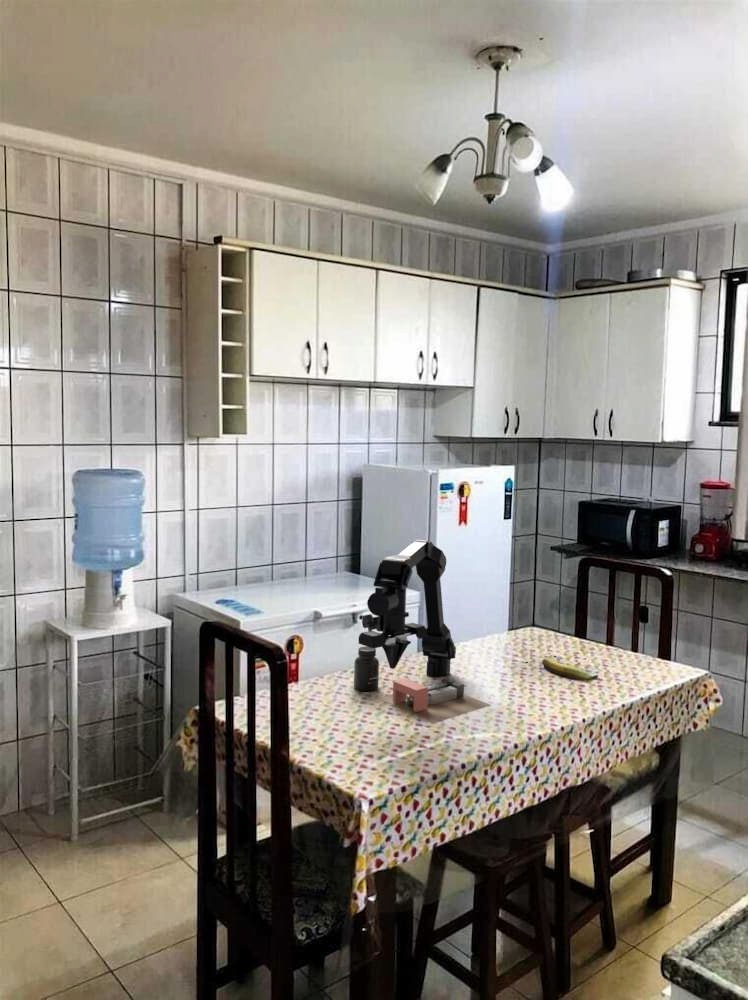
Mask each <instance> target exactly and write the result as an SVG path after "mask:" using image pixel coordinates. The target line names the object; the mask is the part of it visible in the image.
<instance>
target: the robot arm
mask: <svg viewBox="0 0 748 1000" xmlns="http://www.w3.org/2000/svg"><path fill="white" fill-rule="evenodd" d="M446 566H447V557H446V555H445V553H444V551H443V550H442V549H440V548H439V547H437V546H435V545H434V544H433V542H432V541H430V540H426V539H413V540H412V542H411V544H409V545H408V546H407V547H406V548H405V549H403V550H402V551H401V552H400V553H399V554H396V555H389V556H385V557H384V558H383V559H382V560H381V561H380V562H379V565H378V568H377V571H376V576H375V579H374V582H373V587H375V588H374V589H375V591H374V592H373V593H371V595H370V596H369V597H368V600H367V603H366V604H367V608H368V611H370V613H371V614H365V615H362V619H361V624H362V628H364V629H367V630H368V631H364V632H361V633H360V634H359V635H358V644H359V645H362V646H363V647H370V648H375V649H379V648H382V649H383V651H384V654H385V657H386V660H387V663H388V666H389V668H390V669H391V670H394V669H395V668H396V667H397V665H398V663H399V662H400V659H401V657H402V656H403V654H404V652H405V651H406V649H407V648H408V646H409V645H410V644H412V642H411V641H410V640H408V636H413V635H415V637H416V638H417V639H420V640H421V650H422V656H424V657H425V656H426V657H427V662H426V676H428V677H429V678H430V677H431V678H445V677H447V676H449V674H451V660H452V659H456V652H457V651H456V650H457V648H456V646H455V643H454V640H453V638H452V634H451V630H450V629H449V628H448V626H447V625H446V624H445V622H444V621H445V618H444V609H443V597H442V596H443V594H442V584H441V578H442V576H443V574H444V572H445V571H446ZM414 567H415V570H416V575H417V577H419V579H421V581H422V582H423V592H424V601H425V602H424V604H425V612H426V613H425V614H426V626H427V627H426V626H425V625H424V624H423V625H422V624H418V623H415V622H409V623H406V618H408V617H409V616H410V615H409V614H410V612H407V611H406V607H407V606H406V604H407V603H406V601H407V588H408V587H409V582H410V580H411V577H412V574H413V568H414ZM372 614H373V615H374V616H373V615H372ZM374 630H376V631H374ZM380 632H381V633H380Z"/></svg>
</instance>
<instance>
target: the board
mask: <svg viewBox="0 0 748 1000" xmlns="http://www.w3.org/2000/svg"><path fill="white" fill-rule="evenodd" d="M433 684H436V683H434V682H431V683H429V684H423V686H429V685H433ZM407 696H409V695H408V694H407ZM376 700H379V701H381V702H384V703H386V704H388V705H391V706H393V707H395V708H398V709H400V710H403V711H404V712H407V713H410V714H411V715H413V716H416V717H419V718H421V719H423V720H425V721H428V722H430V723H432V724H435V723H438V722H442V721H445V720H447V719H451V718H455V717H458V716H461V715H464V714H467V713H472V712H474V711H476V710H480V709H485V708H486V707H489V706H490V707H491V704H489V703H488V702H485V701H482V700H479V699H477V698H475V697H472V696H469V695H467V694H464V697H461V698H456V699H452V700H448V701H445V702H441V703H437V704H433V705H428V708H427V709H425V710H421V711H418V712H415V711H413V707H410V706H409V704H408V703H407V700H405V701H401V702H398V703H394V702H393V693H391V694H387V695H384V696H380V697H377V698H376Z"/></svg>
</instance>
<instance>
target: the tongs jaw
mask: <svg viewBox="0 0 748 1000" xmlns="http://www.w3.org/2000/svg"><path fill="white" fill-rule="evenodd" d="M464 691H465V684H464V683H462V682H458V681H456V682H455V681H454V683H451V686H449V687H445V688H441V689H437V690H433V691H429V692H428V705H433V704H437V703H441V702H445V701H448V700H452V699H456V698H461V697H464V695H465V694H464V693H465V692H464Z"/></svg>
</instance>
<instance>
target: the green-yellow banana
mask: <svg viewBox="0 0 748 1000" xmlns="http://www.w3.org/2000/svg"><path fill="white" fill-rule="evenodd" d="M544 655H546V654H544ZM541 661H542V665H543V669H544V670H545V669H546V670H545V671H546V672H549V673H550V674H551V673H552V674H553V675H556V676H557V675H558V676H560V677H563V678H568V679H571V680H580V681H582V680H583V681H585V680H586V681H587V680H597V679H598V677H599V675H598V674H595V675H590V674H589V673H588V672H587V671H585V670H583V669H582V668H579V667H576V666H572V665H566V664H563V663H560V662H557V661H555V660H552V658H545V659H544V660H541ZM565 689H568V690H569V688H567V687H565ZM574 690H576V691H577V689H576V688H575V689H574ZM579 691H582V689H579Z"/></svg>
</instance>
